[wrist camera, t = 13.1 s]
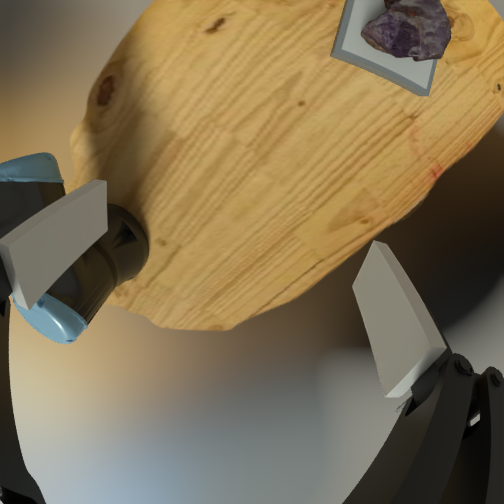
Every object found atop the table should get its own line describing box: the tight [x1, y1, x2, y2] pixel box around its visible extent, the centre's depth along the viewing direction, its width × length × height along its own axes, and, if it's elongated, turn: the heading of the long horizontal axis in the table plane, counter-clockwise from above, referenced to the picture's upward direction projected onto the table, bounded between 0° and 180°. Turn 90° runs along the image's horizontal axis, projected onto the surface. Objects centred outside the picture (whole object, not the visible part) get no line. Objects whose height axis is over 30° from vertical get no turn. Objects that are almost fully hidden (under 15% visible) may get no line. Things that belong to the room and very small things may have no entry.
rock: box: [360, 0, 451, 62], centre depth 18 cm, size 12×9×10 cm
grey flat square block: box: [330, 0, 437, 96], centre depth 23 cm, size 14×14×3 cm
